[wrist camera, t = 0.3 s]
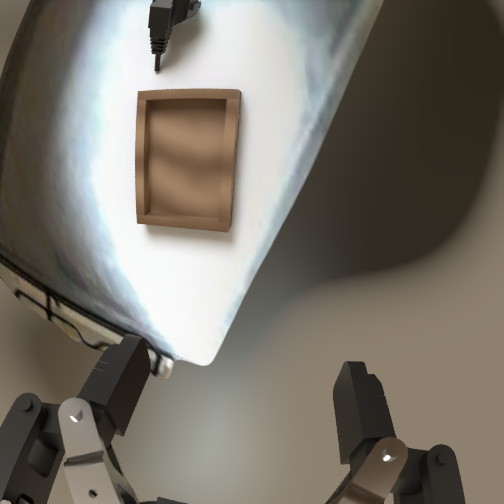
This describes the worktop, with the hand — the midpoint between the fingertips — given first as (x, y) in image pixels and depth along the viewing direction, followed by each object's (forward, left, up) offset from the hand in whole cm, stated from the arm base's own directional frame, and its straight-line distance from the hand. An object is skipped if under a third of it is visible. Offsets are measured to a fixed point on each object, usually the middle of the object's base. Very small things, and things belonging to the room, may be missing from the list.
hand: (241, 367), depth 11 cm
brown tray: (-4, -10, -28) cm, 30 cm away
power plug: (-22, -14, -28) cm, 38 cm away
